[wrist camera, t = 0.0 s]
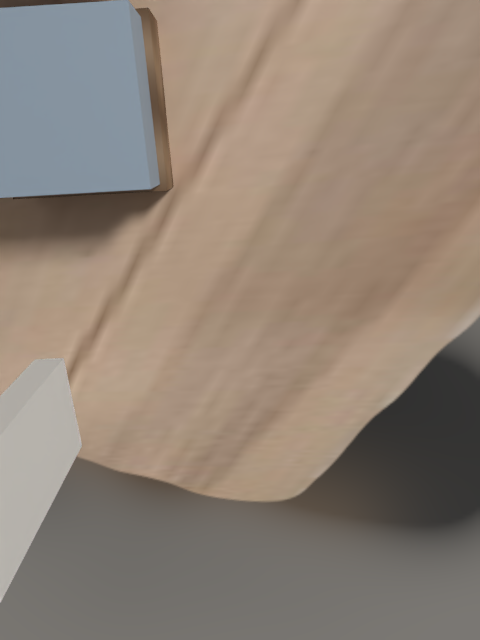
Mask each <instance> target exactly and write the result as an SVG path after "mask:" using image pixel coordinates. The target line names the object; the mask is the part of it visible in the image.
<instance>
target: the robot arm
mask: <svg viewBox="0 0 480 640" xmlns="http://www.w3.org/2000/svg"><path fill="white" fill-rule="evenodd" d="M81 446H82V443H81V439H80V434H79V429H78V424H77V419H76V415H75V410H74V405H73V400H72V396H71V391H70V386H69V381H68V376H67V372H66V367H65V362H64V358H55V359H35V360H34V361H33V362H32V363H31V364H30V365H29V366H28V367H27V368H26V369H25V370H24V371H23V372H22V374H21V375H20V376H19V377H18V378H17V379H16V380H15V381H14V382H13V383H12V384H11V385H10V386H9V387H8V388H7V389H6V390H5V392H4V393H3V394H2V395H1V396H0V602H1V601H2V599H3V597H4V595H5V593H6V591H7V589H8V587H9V585H10V583H11V581H12V579H13V577H14V576H15V574H16V572H17V570H18V568H19V566H20V564H21V562H22V560H23V558H24V556H25V554H26V552H27V550H28V548H29V547H30V545H31V543H32V541H33V539H34V537H35V535H36V533H37V531H38V529H39V527H40V525H41V523H42V521H43V519H44V518H45V516H46V514H47V512H48V510H49V508H50V506H51V504H52V502H53V500H54V498H55V497H56V495H57V493H58V491H59V489H60V487H61V485H62V483H63V481H64V479H65V477H66V475H67V473H68V471H69V469H70V467H71V466H72V464H73V462H74V460H75V458H76V456H77V454H78V452H79V450H80V448H81Z"/></svg>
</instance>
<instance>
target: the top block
mask: <svg viewBox="0 0 480 640" xmlns="http://www.w3.org/2000/svg"><path fill="white" fill-rule="evenodd" d="M158 185H160V180H159V171H158V162H157V154H156V145H155V136H154V127H153V118H152V109H151V101H150V92H149V83H148V74H147V65H146V57H145V48H144V39H143V30H142V21H141V16H140V15H139V14H138V12H137V11H136V10H135V8H134V7H133V6H132V4H131V3H130V2H129V0H117V1H101V2H86V3H70V4H54V5H39V6H23V7H8V8H0V198H7V197H24V196H41V195H59V194H76V193H93V192H110V191H127V190H144V189H152V188H154V187H156V186H158Z"/></svg>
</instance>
